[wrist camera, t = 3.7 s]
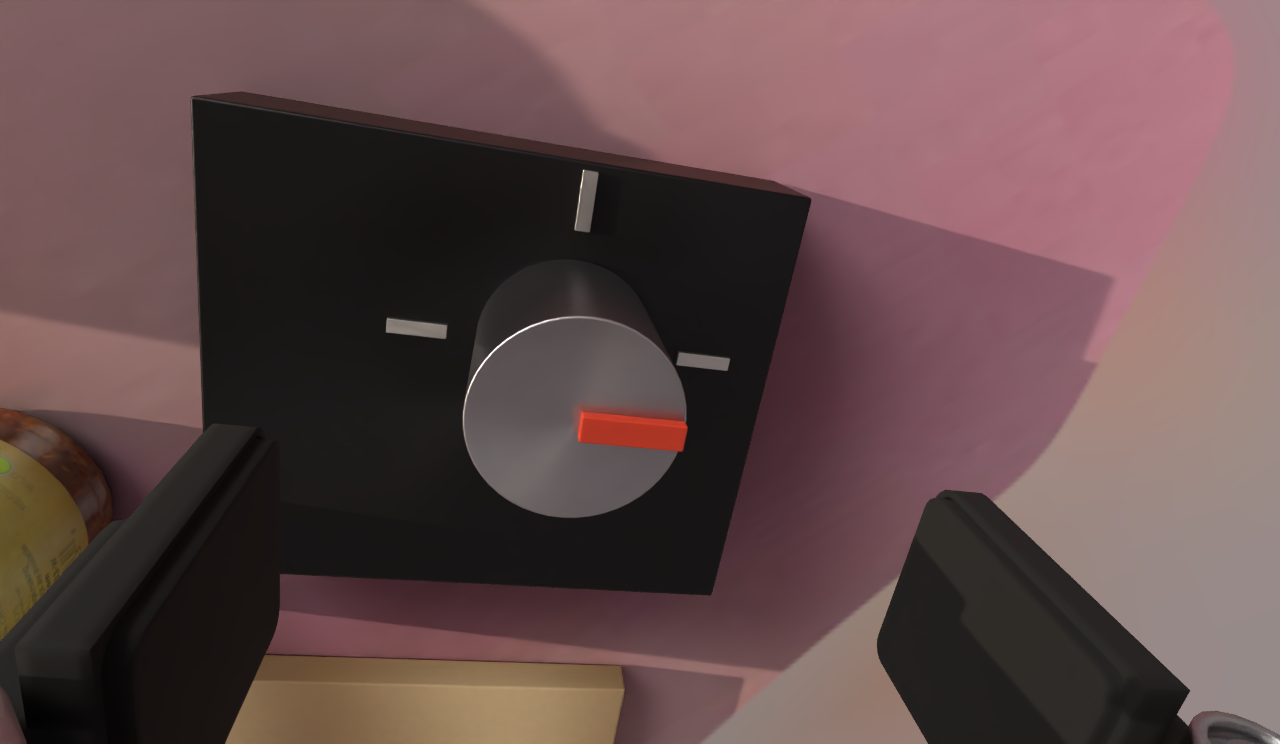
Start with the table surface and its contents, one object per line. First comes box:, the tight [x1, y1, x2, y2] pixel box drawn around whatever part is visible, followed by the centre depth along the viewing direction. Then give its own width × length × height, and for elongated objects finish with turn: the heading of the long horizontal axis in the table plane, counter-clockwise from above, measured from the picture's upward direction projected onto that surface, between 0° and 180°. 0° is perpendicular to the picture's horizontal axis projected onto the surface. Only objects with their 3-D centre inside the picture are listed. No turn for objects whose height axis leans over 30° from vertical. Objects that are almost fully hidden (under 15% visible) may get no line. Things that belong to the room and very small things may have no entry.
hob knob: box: [462, 259, 688, 518], centre depth 17 cm, size 4×4×5 cm
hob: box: [191, 92, 811, 596], centre depth 20 cm, size 14×12×3 cm
